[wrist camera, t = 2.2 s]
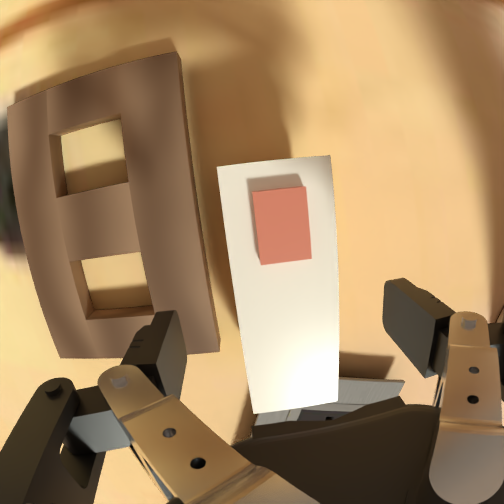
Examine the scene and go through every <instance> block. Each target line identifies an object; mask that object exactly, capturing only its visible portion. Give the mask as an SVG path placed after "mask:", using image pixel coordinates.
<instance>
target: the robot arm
mask: <svg viewBox="0 0 504 504" xmlns="http://www.w3.org/2000/svg"><path fill="white" fill-rule="evenodd" d="M383 325H384V328H385V331H386V332H387V333H388V335H389V336H390V337H391V338H392V339H393V341H394V342H395V343H396V344H397V345H398V346H399V348H400V349H401V350H402V351H403V352H404V354H405V355H406V356H407V357H408V359H409V360H410V361H411V362H412V363H413V365H414V366H415V367H416V368H417V369H418V371H419V372H420V373H421V374H422V376H423V377H424V378H428V377H431V376H433V375H436V374H438V375H439V376H438V380H437V384H436V389H435V394H434V399H433V404H432V406H430V405H421V404H407V405H405V403H404V402H403V400H402V399H401V397H400V396H396V397H393V398H389V399H386V400H382V401H379V402H375V403H371V404H367V405H365V406H363V407H361V408H359V409H356V410H354V411H352V412H350V413H348V414H345V415H343V416H341V417H339V418H336V419H334V420H327V421H284V422H278V423H271V424H263V425H255V426H251V428H252V437H250V438H247V439H244V440H242V441H239V442H237V443H235V444H233V445H231V446H230V445H228V444H227V443H226V442H225V441H224V440H223V439H221V438H220V437H219V436H218V435H217V434H216V433H214V432H213V431H212V430H211V429H210V428H209V427H208V426H207V425H205V424H204V423H203V422H202V421H201V420H200V419H199V418H198V417H197V416H196V415H195V414H193V413H192V412H191V411H190V410H189V409H188V408H187V407H186V406H185V405H184V404H183V403H182V402H181V401H180V395H181V390H182V384H183V379H184V374H185V368H186V363H187V351H186V345H185V341H184V337H183V333H182V329H181V324H180V320H179V316H178V313H177V311H176V310H169V311H159V312H156V313H155V316H154V318H153V320H152V322H151V324H150V325H144V326H143V327H142V328H141V329H140V330H139V331H137V332H136V334H135V336H134V338H133V340H132V342H131V344H130V346H129V348H128V350H127V352H126V354H125V356H124V358H123V360H122V362H121V364H120V365H119V366H115V367H112V368H110V369H108V370H106V371H105V372H104V373H102V374H101V376H100V377H99V379H98V385H97V386H94V387H89V388H84V389H79V390H76V389H75V387H74V384H73V382H72V381H71V380H70V379H67V378H54V379H51V380H48V381H46V382H45V383H43V384H42V385H40V386H39V387H38V389H37V390H36V392H35V393H34V395H33V396H32V398H31V400H30V401H29V403H28V405H27V406H26V408H25V409H24V411H23V413H22V415H21V416H20V418H19V420H18V421H17V423H16V425H15V427H14V428H13V430H12V432H11V434H10V435H9V437H8V439H7V441H6V443H5V444H4V446H3V448H2V450H1V452H0V504H93V503H94V498H95V494H96V490H97V486H98V482H99V478H100V474H101V470H102V466H103V462H104V458H105V454H106V451H109V450H114V449H119V448H124V447H129V449H130V450H131V452H132V453H133V455H134V456H135V457H136V459H137V460H138V462H139V463H140V465H141V466H142V467H143V469H144V470H145V472H146V473H147V474H148V476H149V477H150V479H151V480H152V481H153V483H154V484H155V485H156V487H157V488H158V490H159V491H160V492H161V494H162V495H163V497H164V498H165V499H166V501H167V502H168V503H166V504H504V426H502V408H501V399H502V400H503V402H504V308H503V310H502V312H501V314H500V316H499V318H498V320H497V322H496V323H490V324H488V323H487V320H486V319H485V318H484V317H483V316H482V315H480V314H477V313H474V312H468V311H463V312H457V313H456V312H455V311H453V310H452V309H451V308H449V307H448V306H447V305H445V304H444V303H443V302H441V301H440V300H439V299H438V298H435V296H433V295H432V294H431V293H429V292H428V291H426V290H423V289H421V288H418V287H416V286H415V285H413V284H412V283H411V282H409V281H408V280H407V279H405V278H400V279H394V280H389V281H386V282H385V285H384V300H383ZM62 442H63V444H64V446H63V448H62V451H61V453H60V448H61V445H62Z"/></svg>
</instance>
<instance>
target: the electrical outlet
mask: <svg viewBox="0 0 504 504" xmlns="http://www.w3.org/2000/svg"><path fill="white" fill-rule="evenodd" d="M404 383H405V381H404V380H387V379H364V378H348V377H338V400H337V401H334V402H329V403H324V404H319V405H313V406H307V407H301V408H295V409H288V410H281V411H274V412H266V413H258V415H257V418H256V421H255V424H254V426H255V425H263V424H271V423H278V422H284V421H327V420H334V419H336V418H339V417H341V416H343V415H345V414H348V413H350V412H352V411H354V410H356V409H359V408H361V407H363V406H365V405H367V404H371V403H375V402H379V401H382V400H386V399H389V398H393V397H396V396H398V394H399V393H400V391H401V389H402V387H403V385H404ZM250 437H252V433H251V436H250Z"/></svg>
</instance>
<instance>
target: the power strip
mask: <svg viewBox="0 0 504 504" xmlns="http://www.w3.org/2000/svg"><path fill="white" fill-rule="evenodd" d="M217 173H218V181H219V188H220V196H221V204H222V211H223V218H224V226H225V233H226V240H227V247H228V254H229V261H230V268H231V275H232V282H233V289H234V295H235V302H236V309H237V315H238V322H239V328H240V335H241V341H242V347H243V354H244V360H245V366H246V372H247V378H248V384H249V390H250V396H251V402H252V408H253V414H258V413H266V412H274V411H281V410H288V409H295V408H301V407H307V406H313V405H319V404H324V403H329V402H334V401H337V400H338V374H339V279H338V252H337V233H336V216H335V202H334V190H333V178H332V167H331V157H330V155H328V156H314V157H301V158H290V159H279V160H270V161H260V162H251V163H243V164H235V165H227V166H220V167H217Z"/></svg>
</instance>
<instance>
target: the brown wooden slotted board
mask: <svg viewBox="0 0 504 504" xmlns="http://www.w3.org/2000/svg"><path fill="white" fill-rule="evenodd" d="M7 115H8V138H9V152H10V163H11V172H12V180H13V188H14V195H15V201H16V207H17V213H18V218H19V224H20V229H21V233H22V238H23V243H24V247H25V251H26V255H27V259H28V263H29V267H30V271H31V275H32V278H33V282H34V285H35V289H36V292H37V295H38V298H39V301H40V305H41V308H42V311H43V314H44V317H45V319H46V322H47V325H48V328H49V331H50V333H51V336H52V339H53V341H54V344H55V346H56V349H57V351H58V354H59V356H60V358H83V359H87V358H124V356H125V354H126V352H127V350H128V348H129V346H130V344H131V342H132V340H133V338H134V336H135V334H136V332H137V331H139V330H140V329H141V328H142V327H143V326H144V325H150V324H151V322H152V320H153V318H154V316H155V313H156V312H159V311H169V310H176V311H177V313H178V316H179V320H180V324H181V329H182V333H183V337H184V341H185V345H186V351H187V355H188V354H201V353H212V352H220V341H221V340H220V334H219V329H218V323H217V318H216V312H215V307H214V301H213V296H212V290H211V284H210V278H209V272H208V266H207V260H206V254H205V247H204V241H203V235H202V228H201V221H200V215H199V208H198V201H197V194H196V187H195V179H194V172H193V164H192V156H191V148H190V140H189V132H188V123H187V114H186V105H185V96H184V86H183V76H182V66H181V59H180V57H179V55H178V53H177V52H172V53H167V54H162V55H157V56H153V57H148V58H144V59H140V60H136V61H132V62H128V63H125V64H121V65H117V66H114V67H110V68H107V69H104V70H100V71H97V72H94V73H91V74H88V75H85V76H82V77H79V78H76V79H73V80H70V81H68V82H65V83H62V84H60V85H57V86H54V87H52V88H49V89H47V90H45V91H42V92H40V93H37V94H35V95H33V96H30V97H28V98H26V99H24V100H21V101H19V102H17V103H15V104H13V105H11V106H9V107H7ZM117 119H121V123H122V133H123V142H124V151H125V159H126V166H127V174H128V181H129V182H126V183H121V184H117V185H112V186H107V187H102V188H98V189H93V190H89V191H84V192H80V193H76V194H71V195H68V194H67V188H66V181H65V173H64V166H63V157H62V148H61V137H60V136H61V135H64V134H67V133H71V132H74V131H77V130H80V129H84V128H87V127H91V126H94V125H98V124H101V123H105V122H109V121H113V120H117ZM134 252H141V255H142V260H143V265H144V269H145V274H146V279H147V283H148V287H149V292H150V296H151V300H152V304H153V306H142V307H131V308H119V309H107V310H94V308H93V305H92V301H91V298H90V294H89V291H88V287H87V283H86V280H85V276H84V272H83V268H82V264H81V260H84V259H91V258H98V257H105V256H112V255H120V254H127V253H134Z"/></svg>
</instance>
